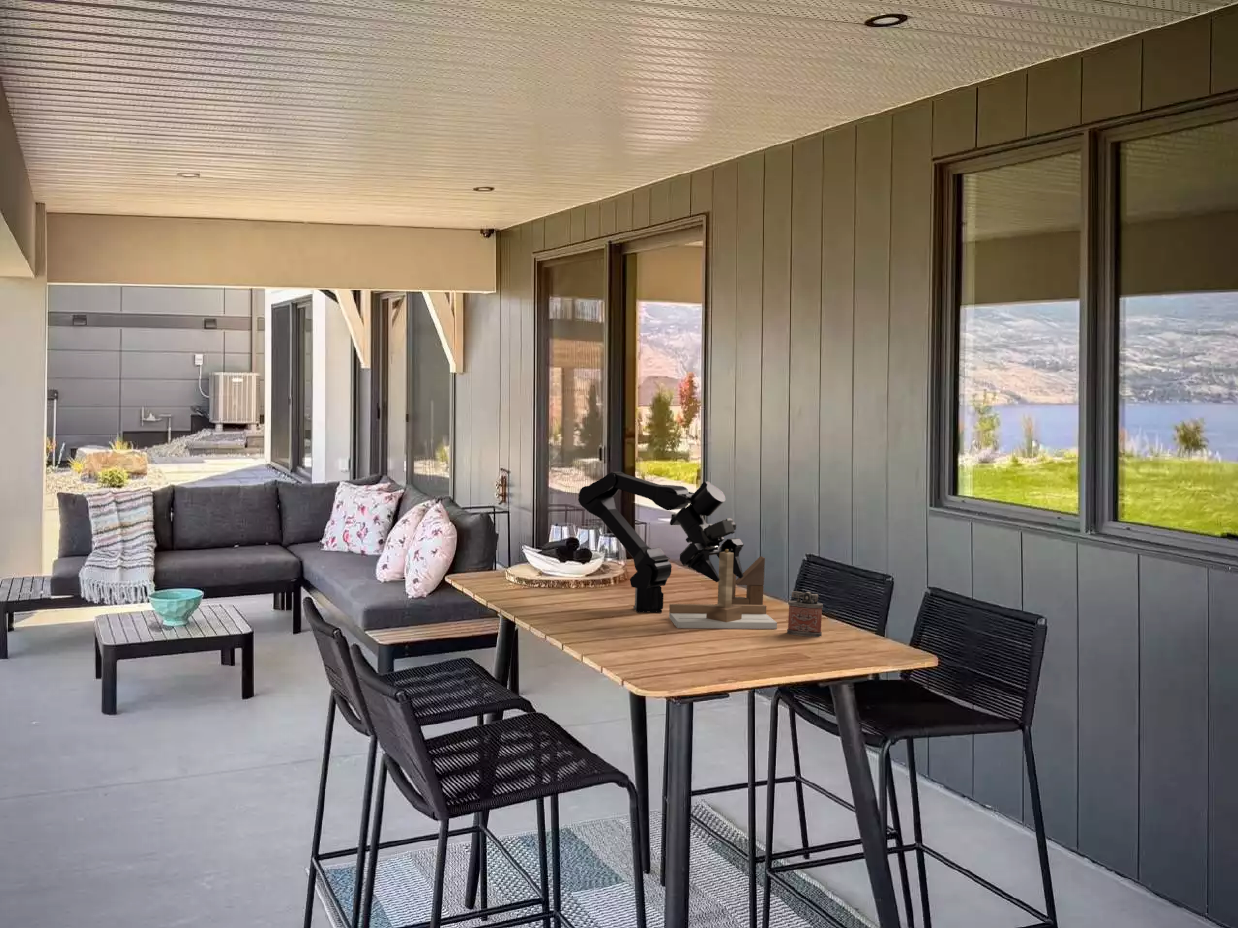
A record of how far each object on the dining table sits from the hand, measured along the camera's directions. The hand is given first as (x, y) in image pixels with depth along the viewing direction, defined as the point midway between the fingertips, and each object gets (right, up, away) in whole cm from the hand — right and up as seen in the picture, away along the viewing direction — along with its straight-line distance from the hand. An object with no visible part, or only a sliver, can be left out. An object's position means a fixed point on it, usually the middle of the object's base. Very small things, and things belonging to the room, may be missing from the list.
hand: (730, 579), depth 281 cm
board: (-2, -11, +4) cm, 12 cm away
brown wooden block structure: (+4, -10, +19) cm, 23 cm away
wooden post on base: (-1, -10, +2) cm, 10 cm away
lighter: (+17, -12, -6) cm, 22 cm away
